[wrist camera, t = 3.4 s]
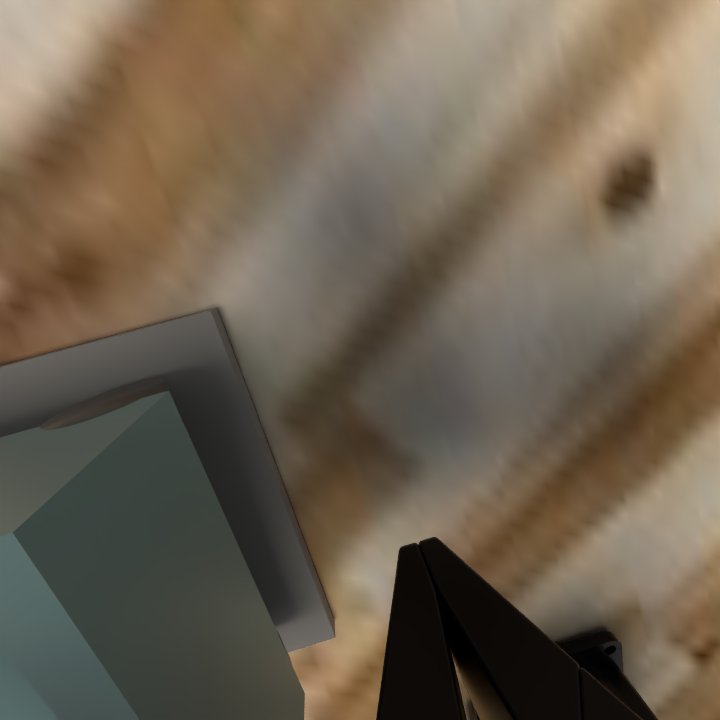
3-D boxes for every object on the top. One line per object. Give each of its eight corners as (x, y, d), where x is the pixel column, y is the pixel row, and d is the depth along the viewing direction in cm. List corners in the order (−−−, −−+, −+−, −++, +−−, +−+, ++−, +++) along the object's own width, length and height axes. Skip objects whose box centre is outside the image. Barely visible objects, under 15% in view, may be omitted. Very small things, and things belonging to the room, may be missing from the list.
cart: (196, 365, 9) (12, 533, 4) (306, 630, 12) (298, 953, 6) (-194, 473, 9) (-1096, 854, 3) (16, 721, 11) (-262, 1154, 6)
